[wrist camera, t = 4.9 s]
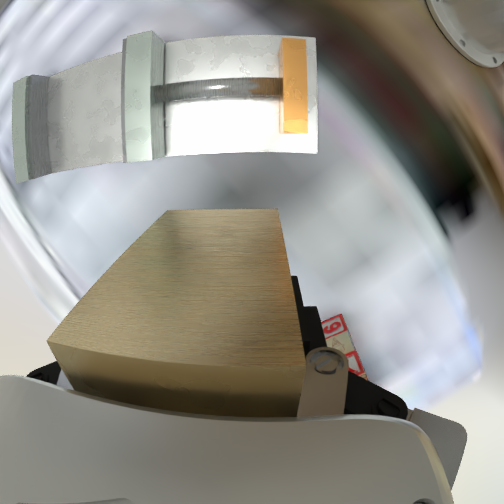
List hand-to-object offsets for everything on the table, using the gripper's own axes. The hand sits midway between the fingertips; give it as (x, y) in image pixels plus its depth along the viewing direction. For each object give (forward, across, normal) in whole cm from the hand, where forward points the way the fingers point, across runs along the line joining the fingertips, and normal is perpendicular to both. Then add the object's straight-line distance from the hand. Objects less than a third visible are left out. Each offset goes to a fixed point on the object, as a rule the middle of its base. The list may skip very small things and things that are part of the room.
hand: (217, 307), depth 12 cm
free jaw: (+13, +2, -10) cm, 16 cm away
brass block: (+3, 0, 0) cm, 3 cm away
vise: (+14, +7, -10) cm, 19 cm away
